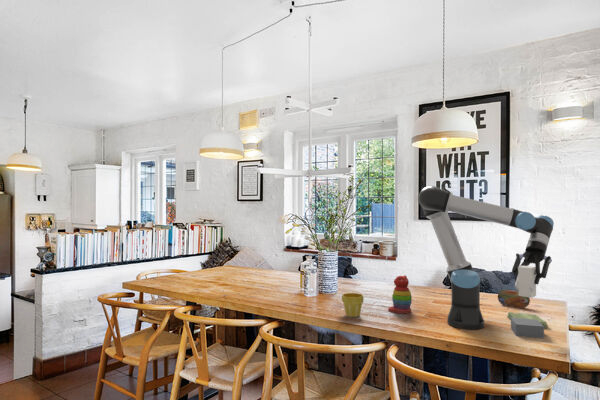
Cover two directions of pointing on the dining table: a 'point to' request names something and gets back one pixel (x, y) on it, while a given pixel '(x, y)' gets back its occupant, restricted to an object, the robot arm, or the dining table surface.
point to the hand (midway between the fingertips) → (523, 288)
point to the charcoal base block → (527, 328)
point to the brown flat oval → (513, 299)
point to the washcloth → (527, 317)
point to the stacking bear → (401, 296)
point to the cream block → (526, 281)
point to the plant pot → (352, 303)
